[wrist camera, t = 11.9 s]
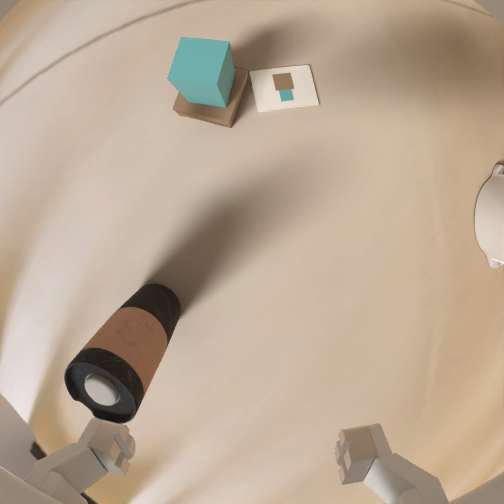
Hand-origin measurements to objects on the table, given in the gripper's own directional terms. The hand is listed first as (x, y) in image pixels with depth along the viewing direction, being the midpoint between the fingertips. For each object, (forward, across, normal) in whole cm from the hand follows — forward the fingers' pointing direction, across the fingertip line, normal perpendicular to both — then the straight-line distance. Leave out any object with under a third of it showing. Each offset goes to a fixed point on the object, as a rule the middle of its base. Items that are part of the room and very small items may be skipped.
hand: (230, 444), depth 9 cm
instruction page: (+30, -5, -21) cm, 37 cm away
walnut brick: (+30, +4, -20) cm, 36 cm away
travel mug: (+29, +14, +8) cm, 33 cm away
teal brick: (+26, +4, -20) cm, 33 cm away
